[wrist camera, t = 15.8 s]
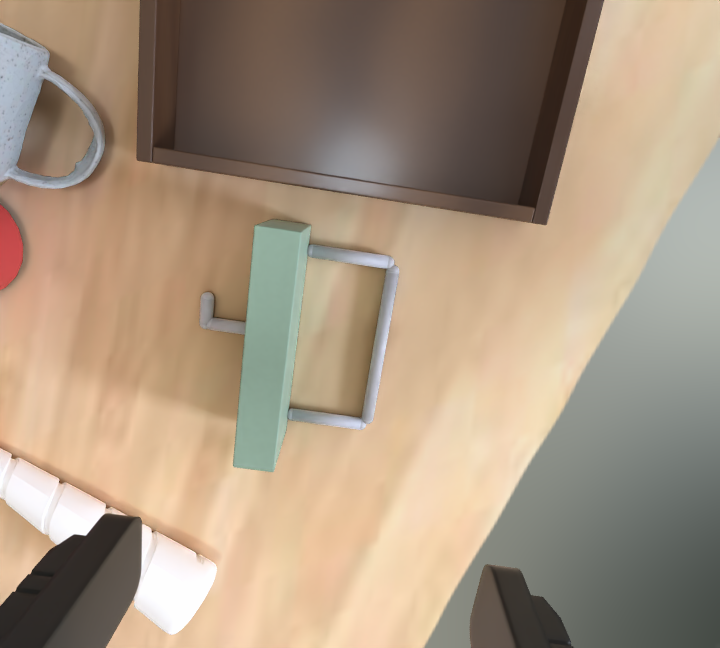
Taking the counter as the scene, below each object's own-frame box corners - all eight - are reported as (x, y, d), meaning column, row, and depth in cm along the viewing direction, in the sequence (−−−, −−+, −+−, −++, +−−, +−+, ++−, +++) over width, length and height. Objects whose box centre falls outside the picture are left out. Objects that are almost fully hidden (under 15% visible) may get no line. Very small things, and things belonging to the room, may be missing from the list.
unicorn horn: (-66, 361, 31) (-140, 392, 26) (229, 555, 35) (210, 610, 31) (-99, 411, 32) (-175, 450, 27) (193, 594, 36) (169, 653, 32)
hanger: (404, 239, 29) (413, 249, 24) (368, 441, 33) (370, 485, 28) (208, 208, 28) (177, 213, 24) (195, 418, 32) (166, 458, 27)
